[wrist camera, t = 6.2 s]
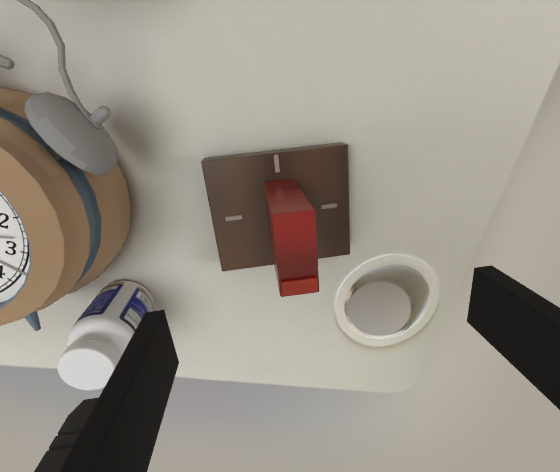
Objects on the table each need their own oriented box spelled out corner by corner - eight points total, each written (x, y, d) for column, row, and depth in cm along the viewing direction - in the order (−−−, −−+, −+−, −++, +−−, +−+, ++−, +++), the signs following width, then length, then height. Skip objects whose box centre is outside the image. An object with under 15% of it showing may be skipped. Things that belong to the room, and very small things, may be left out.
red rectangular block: (263, 182, 26) (271, 216, 17) (293, 178, 26) (316, 210, 18) (270, 242, 28) (280, 299, 20) (298, 239, 28) (320, 294, 20)
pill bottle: (96, 318, 31) (42, 391, 23) (103, 273, 30) (48, 334, 22) (150, 328, 33) (118, 401, 24) (160, 286, 31) (128, 349, 23)
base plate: (341, 142, 27) (348, 144, 25) (344, 246, 31) (350, 255, 29) (204, 158, 27) (200, 161, 25) (223, 262, 31) (221, 272, 29)
